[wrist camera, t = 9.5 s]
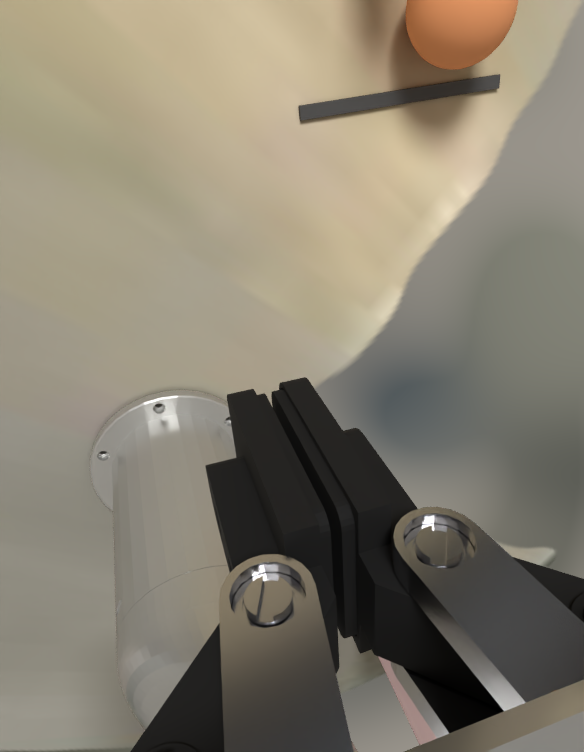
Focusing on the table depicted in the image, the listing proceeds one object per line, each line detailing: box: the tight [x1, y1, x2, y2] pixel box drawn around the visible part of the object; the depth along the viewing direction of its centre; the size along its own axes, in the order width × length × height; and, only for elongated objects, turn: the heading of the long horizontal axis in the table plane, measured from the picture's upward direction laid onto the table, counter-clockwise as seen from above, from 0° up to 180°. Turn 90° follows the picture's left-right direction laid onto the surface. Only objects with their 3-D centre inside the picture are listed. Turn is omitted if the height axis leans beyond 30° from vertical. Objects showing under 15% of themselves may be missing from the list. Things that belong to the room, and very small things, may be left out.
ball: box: [406, 0, 518, 69], centre depth 30 cm, size 6×6×6 cm
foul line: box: [299, 75, 500, 120], centre depth 34 cm, size 1×14×1 cm, turn 97°
